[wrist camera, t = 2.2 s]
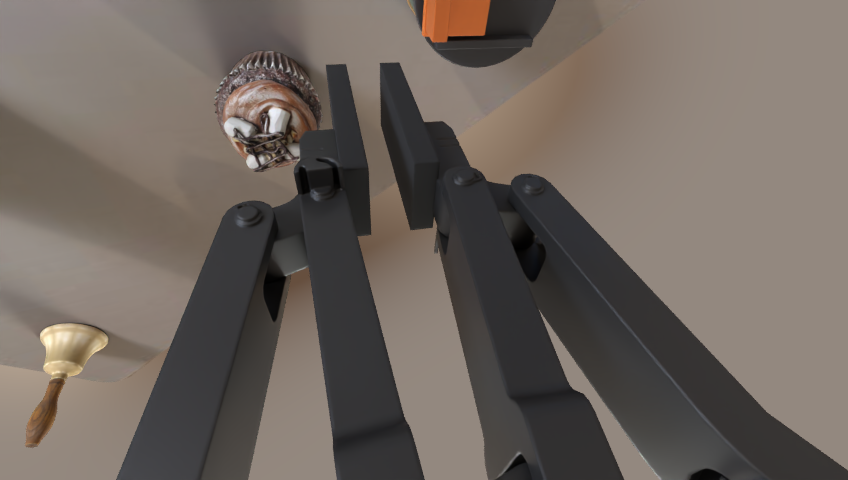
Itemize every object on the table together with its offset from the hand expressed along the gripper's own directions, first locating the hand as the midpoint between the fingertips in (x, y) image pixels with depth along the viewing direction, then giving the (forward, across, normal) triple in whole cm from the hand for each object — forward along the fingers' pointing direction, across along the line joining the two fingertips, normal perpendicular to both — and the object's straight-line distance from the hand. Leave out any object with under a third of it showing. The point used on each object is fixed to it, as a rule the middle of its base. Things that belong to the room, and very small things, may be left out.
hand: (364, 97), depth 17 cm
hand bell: (+27, -44, -51) cm, 72 cm away
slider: (+13, +8, 0) cm, 15 cm away
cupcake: (+27, -7, -13) cm, 30 cm away
